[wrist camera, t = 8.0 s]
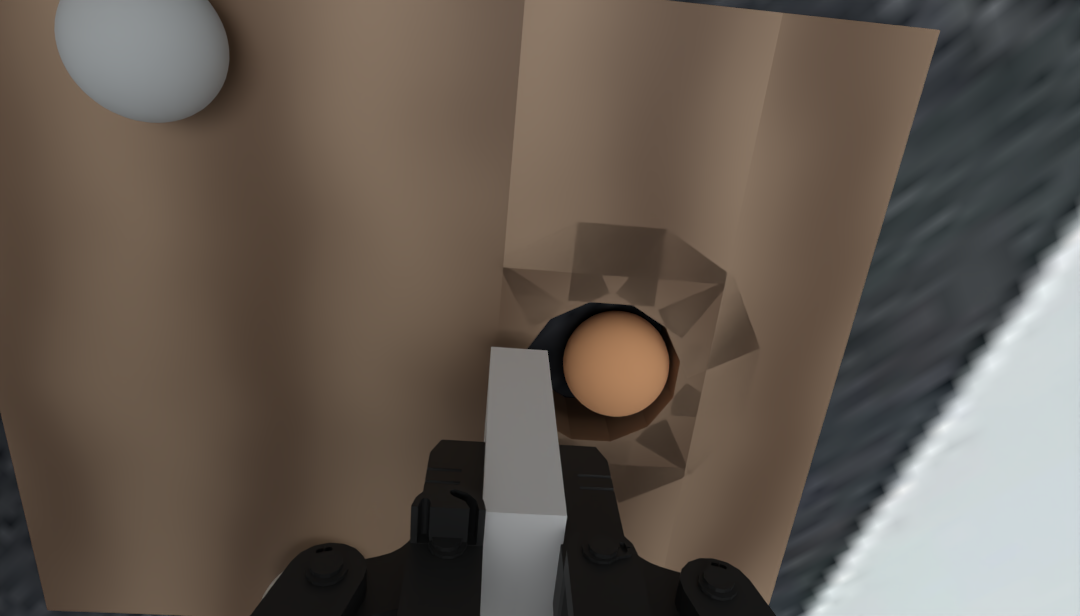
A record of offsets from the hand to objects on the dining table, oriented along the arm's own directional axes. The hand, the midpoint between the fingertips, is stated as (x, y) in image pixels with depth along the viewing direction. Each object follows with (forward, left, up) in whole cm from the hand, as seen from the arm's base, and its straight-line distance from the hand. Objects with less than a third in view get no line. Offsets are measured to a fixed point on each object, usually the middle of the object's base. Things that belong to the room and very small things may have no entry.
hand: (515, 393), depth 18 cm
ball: (+3, 0, -2) cm, 4 cm away
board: (-3, 0, -4) cm, 5 cm away
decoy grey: (-9, +8, 0) cm, 12 cm away
